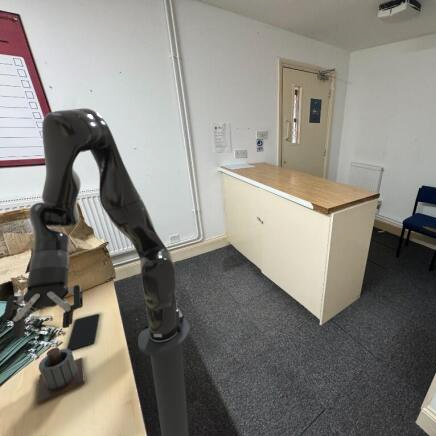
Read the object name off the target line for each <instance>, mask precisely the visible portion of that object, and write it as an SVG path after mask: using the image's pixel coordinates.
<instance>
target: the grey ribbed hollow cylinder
mask: <svg viewBox="0 0 436 436" xmlns="http://www.w3.org/2000/svg"><path fill="white" fill-rule="evenodd" d="M59 350H60V353H61V356H62V359H63V361H62V362H61V363H60V364H58V365H55V366H53V367H51V365H50V363H49V360H48V357H47V355H46V356H45V357H43V358H42V359H41V360H40V361H39V363H38V370H39V373H40V374H41V376H42V378H43V381H44V384H45V386H46V387H47V388H49V389H55V388H57V387H58V388H59V387H61V386H63V385H65V383H66V384H67V383H68V382H70V381H71V380H72V379H73V378H74V377H75V375H76V374H77V367H76V364H75V361H74V360H75V357H74V353H73V351H71V350H69V349H67V348H62V349H59Z"/></svg>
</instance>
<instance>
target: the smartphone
mask: <svg viewBox="0 0 436 436" xmlns="http://www.w3.org/2000/svg"><path fill="white" fill-rule="evenodd" d="M99 319H100V314H99V313H96V314H92V315H87V316H83V317H79V318H77V319H74V323H73V326H72V330H71V334H70V337H69V340H68V343H67V347H66V349H69V350H71V351H72V352H73V351H77V350H79V349H82V348H86V347H90V346H92V345H94V344H95V343H96V337H97V331H98V326H99Z"/></svg>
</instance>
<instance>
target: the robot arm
mask: <svg viewBox="0 0 436 436" xmlns="http://www.w3.org/2000/svg"><path fill="white" fill-rule="evenodd" d="M41 125H42V127H41V132H42V133H41V134H42V144H43V155H44V162H45V180H44V185H43V190H42V195H41V199H42V201H41V202H36V203H34V204H33V205H32V206H30V207H29V210H28V217H29V220H30V224H31V227H32V230H33V234H34V235H33V237H34V241H33V242H34V244H33V251H32V256H31V258H30V259H31V260H30V263H29V270H28V271H29V272H28V279H27V287H26V289H27V290H26V293H24V294H20V295H15V294H11V295H8V296H7V299H6V302H5V303H6V304H5V308H4V313H3V316H2V320H3V321H4V322H5V321H6V322H12V323H13V326H12V332H11V335H12V336H13V337H14V338H15V339H21V338H24V337H25V332H26V324H27V323H26V322H27V321H26V320H27V318H29V317H30V316H31V314H33V313H34V312H35V311H36V310H37V309H38V310H43V309H46V308H54V307H57V306H59V307H60V308H61V309H62V310H63V311H64V312H63V313H62V328H63V329H66V328H67V329H68V328H69V327H70V325H72V324H73V321H74V319H73V318H74V312H75V311H77V310H78V309H82V308H83V306H84V296H83V286H82V285H79V284H76V285H74V286H71V287H68V284H69V283H68V282H69V270H70V269H69V268H70V254H69V253H70V243H71V242H70V241H71V239H70V236H69V235H68V233H65V232H61V231H57V230H53V229H51V228H65V229H67V228H68V229H69V228H72V227H75V226H76V225H78V223H79V220H80V212H79V209H78V204H77V203H78V197H79V194H80V191H81V187H82V185H81V183H82V182H81V179H80V178H81V177H80V176H79V174H78V173H77V171H76V170H75V169H74V163H75V161H76V160H77V158H78V156H79V155H80V153H84V152H89V151H90V153H91V155H92V157H93V159H94V161H95V163H96V165H97V166H96V167H97V169H98V175H99V179H98V180H99V184H98V186H99V188H98V193H99V195H98V196H99V202H100V204H101V205H100V206H102V208H103V210H104V212H105V214H106V215H107V216H108V218H109V220H110V221H111V222H112V224H113V225H114V227H115V228H117V230H118V231H119V232H120V233H121V234H122V235H124V236H125V237H126V238H127V239H128V240H129V241H130V243H132V245H133V247H134V249H135V251H136V253H137V256H138V258H139V260H140V277H141V278H140V279H141V284H142V288H143V289H142V290H143V295H144V302H145V308H146V309H145V310H146V315H147V317H146V318H147V324H148V325H149V333H150V339H151V340H152V341H153V342H155V343H164V342H167V341H169V340H171V339H173V338H174V337H175V336H176V335H177V334H178V333H179V332H181V330H180V323H182V322H184V320H183V318H184V319H185V314H183V313H182V311H181V310H180V308H179V307H178V305H177V292H176V290H177V289H176V287H177V283H176V282H177V281H176V267H175V262H174V259H173V256H172V254H171V251H170V250H169V249H168V248H167V246H166V245H165V244H164V242H163V240H162V239H161V238H160V236H159V234H158V232H157V231H156V228H155V226H154V222H153V220H152V218H151V216H150V212H149V211H148V209H147V207H146V205H145V203H144V201H143V199H142V196H141V194H140V193H139V192H138V189H137V188H136V186H135V184H134V182H133V180H132V178H131V176H130V174H129V172H128V169H127V167H126V166H125V163H124V161H123V159H122V155H121V153H120V151H119V148H118V145H117V143H116V141H115V137H114V136H113V133H112V132H111V129H110V127H109V125H108V123H107V121H105V119H104V118H103V117H102V116H101V115H100V114H99V113H98V112H97V111H95V110H93V109H91V108H87V107H86V108H85V107H83V108H71V109H64V110H63V109H62V110H55V111H52V112H51V111H50V112H48V113H47V114H45V116H44V117H43V120H42V124H41ZM69 293H70V294H71V295H73V304H70V302H68V300H66V299H65V298H66V296H68V294H69ZM23 301H25V302H26V304H25V305H23V307H22V308H20V311H19V306H20V305H21V304H22V303H23ZM18 311H19V312H18Z"/></svg>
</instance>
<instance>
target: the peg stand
mask: <svg viewBox="0 0 436 436" xmlns="http://www.w3.org/2000/svg"><path fill="white" fill-rule="evenodd" d="M60 350H61V349H60V348H59V347H53V348H51V349H49V350H48V351H47V352H46V356H47V357H48V360H49V363H50V365H51V367H53V366H55V365H58V364H60V363H61V362H62V361H63V359H62V356H61V353H60ZM74 361H75V364H76V367H77V374H76V375H75V377H74V378H73V379H72V380H71V381H70V382H68V383H67V384H66V383H65V385H63V386H61V387H59V388H58V387H57V388H55V389H49V388H47V387H46V386H45V384H44V381H43V378H42V376H41V373H40V374H39V379H38V387H37V388H38V391H37V404H38V405H41V404H43V403H45V402H47V401H50V400H52V399H53V398H56V397H58V396H60V395H62V394H65V393H66V392H68V391H70V390H73V389H75V388H77V387H79V386H81V385H84V384H85V373H84V360H83V357H79V358H77V359H74Z"/></svg>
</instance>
